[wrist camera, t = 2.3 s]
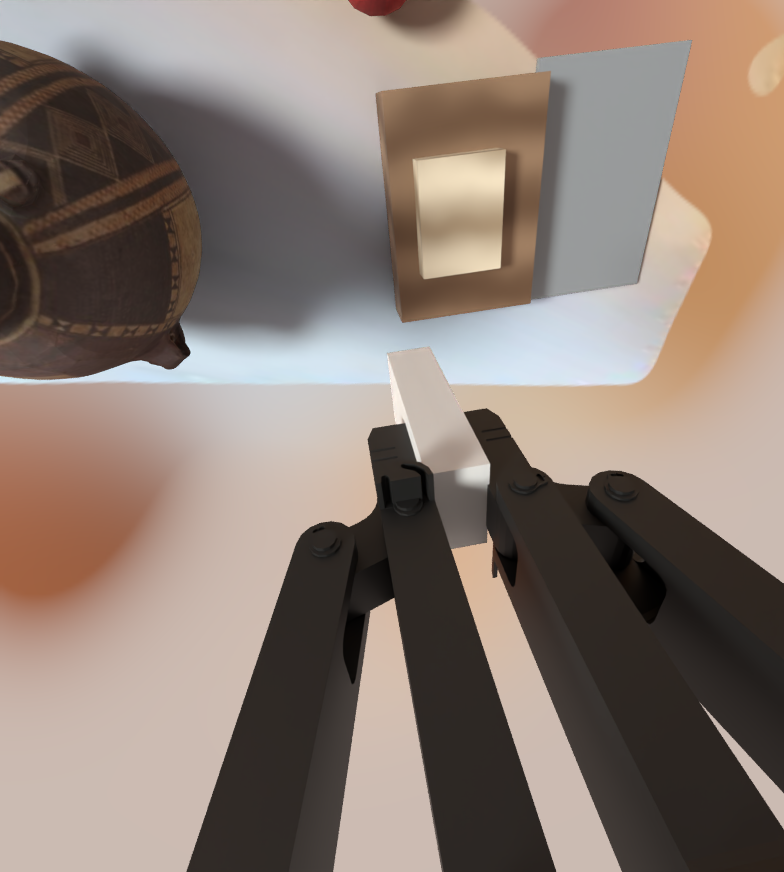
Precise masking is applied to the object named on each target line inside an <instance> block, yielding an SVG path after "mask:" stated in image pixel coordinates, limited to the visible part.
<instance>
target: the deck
mask: <svg viewBox="0 0 784 872" xmlns="http://www.w3.org/2000/svg"><path fill="white" fill-rule="evenodd" d="M550 77H551V71H545V72H537V73H529V74H520V75H512V76H504V77H495V78H487V79H479V80H470V81H462V82H454V83H445V84H437V85H429V86H420V87H412V88H404V89H395V90H387V91H381V92H378V93H376V103H377V114H378V124H379V135H380V145H381V156H382V166H383V177H384V187H385V198H386V208H387V219H388V229H389V239H390V250H391V260H392V271H393V281H394V292H395V302H396V310H397V312H398V314H399V316H400V319H401V321H402V323H404V322H411V321H417V320H424V319H431V318H437V317H444V316H450V315H457V314H463V313H470V312H477V311H483V310H490V309H496V308H503V307H509V306H516V305H523V304H529V303H531V291H532V280H533V269H534V257H535V246H536V235H537V224H538V212H539V201H540V190H541V178H542V167H543V156H544V145H545V133H546V122H547V111H548V99H549V88H550ZM493 148H501V149H506V159H505V181H504V203H503V225H502V247H501V268H498V269H492V270H485V271H478V272H471V273H464V274H458V275H451V276H444V277H437V278H430V279H423V277H422V276H421V275H420V273H419V256H418V239H417V223H416V206H415V190H414V173H413V159H416V158H424V157H431V156H439V155H447V154H454V153H462V152H470V151H477V150H485V149H493Z"/></svg>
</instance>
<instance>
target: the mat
mask: <svg viewBox="0 0 784 872" xmlns="http://www.w3.org/2000/svg"><path fill="white" fill-rule="evenodd" d="M691 43H692V40H687V41H679V42H670V43H662V44H653V45H645V46H637V47H628V48H619V49H611V50H602V51H594V52H586V53H578V54H570V55H569V54H568V55H560V56H552V57H544V58H538V59H537V66H536V73H537V72H545V71H551V77H550V88H549V99H548V111H547V122H546V133H545V145H544V156H543V167H542V178H541V190H540V201H539V212H538V224H537V235H536V246H535V257H534V269H533V280H532V291H531V300H532V299H539V298H546V297H552V296H559V295H565V294H572V293H579V292H585V291H592V290H598V289H605V288H612V287H618V286H625V285H631V284H637V280H638V276H639V272H640V267H641V263H642V258H643V254H644V250H645V245H646V241H647V236H648V232H649V228H650V223H651V219H652V215H653V210H654V206H655V201H656V197H657V193H658V188H659V184H660V179H661V175H662V171H663V166H664V161H665V157H666V153H667V149H668V144H669V140H670V135H671V131H672V127H673V122H674V117H675V114H676V109H677V105H678V100H679V96H680V92H681V87H682V83H683V78H684V74H685V69H686V65H687V61H688V56H689V52H690V47H691Z"/></svg>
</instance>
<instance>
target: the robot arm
mask: <svg viewBox="0 0 784 872" xmlns="http://www.w3.org/2000/svg"><path fill="white" fill-rule="evenodd" d="M387 356H388V365H389V374H390V382H391V390H392V400H393V408H394V417H395V421H396V425H390V426H384V427H378V428H373V429H372V431H371V433H370V436H369V438H368V445H369V450H370V456H371V463H372V469H373V475H374V481H375V486H376V492H377V504H376V507H375V509H374V510H373V512H372V513H371V514H370V515H369V516H368V517H367V518H366V519H364V520H362V521H361V522H359V523H357V524H355V525H353V526H350V527H347V526H345V525H344V524H342V523H339V522H332V521H330V522H323V523H319V524H317V525H314V526H312V527H310V528H309V529H308V530H306V531H305V532H304V533H303V534H302V535H301V536H300V538H299V540H298V542H297V543H296V546H295V549H294V552H293V555H292V558H291V561H290V564H289V567H288V570H287V573H286V576H285V579H284V582H283V585H282V588H281V591H280V594H279V597H278V600H277V603H276V606H275V609H274V612H273V615H272V618H271V621H270V624H269V627H268V630H267V633H266V636H265V639H264V642H263V645H262V648H261V651H260V654H259V657H258V660H257V663H256V666H255V669H254V671H253V674H252V677H251V681H250V684H249V687H248V689H247V692H246V696H245V698H244V701H243V704H242V707H241V711H240V713H239V716H238V719H237V722H236V725H235V728H234V731H233V734H232V738H231V740H230V743H229V746H228V749H227V752H226V755H225V758H224V761H223V764H222V767H221V770H220V773H219V776H218V779H217V782H216V785H215V788H214V791H213V794H212V797H211V800H210V803H209V806H208V809H207V812H206V815H205V818H204V821H203V824H202V827H201V830H200V833H199V836H198V839H197V842H196V845H195V848H194V851H193V854H192V857H191V860H190V863H189V866H188V869H187V872H333V868H334V860H335V854H336V847H337V840H338V834H339V827H340V819H341V813H342V805H343V798H344V791H345V784H346V778H347V770H348V763H349V756H350V750H351V743H352V736H353V729H354V721H355V715H356V707H357V701H358V694H359V687H360V679H361V673H362V666H363V659H364V652H365V644H366V638H367V631H368V624H369V617H370V610H372V609H374V608H376V607H378V606H379V605H382V604H383V603H385V602H387V601H389V600H390V599H393V598H395V604H396V610H397V616H398V621H399V627H400V632H401V638H402V644H403V650H404V656H405V661H406V667H407V673H408V679H409V684H410V689H411V696H412V702H413V707H414V713H415V718H416V725H417V730H418V735H419V742H420V747H421V753H422V759H423V764H424V771H425V776H426V782H427V787H428V793H429V799H430V805H431V811H432V817H433V822H434V828H435V834H436V839H437V845H438V850H439V856H440V862H441V868H442V872H556V869H555V866H554V863H553V860H552V857H551V854H550V851H549V848H548V845H547V842H546V839H545V836H544V833H543V829H542V826H541V823H540V820H539V817H538V814H537V811H536V808H535V805H534V802H533V799H532V796H531V793H530V790H529V787H528V783H527V780H526V777H525V774H524V771H523V768H522V765H521V762H520V759H519V756H518V753H517V750H516V747H515V744H514V741H513V738H512V734H511V731H510V729H509V726H508V722H507V719H506V716H505V713H504V710H503V707H502V704H501V701H500V698H499V695H498V692H497V689H496V686H495V682H494V679H493V677H492V674H491V670H490V667H489V664H488V661H487V658H486V655H485V652H484V649H483V646H482V643H481V640H480V637H479V633H478V631H477V627H476V624H475V622H474V618H473V615H472V612H471V609H470V606H469V603H468V600H467V597H466V594H465V591H464V588H463V585H462V581H461V578H460V575H459V572H458V569H457V566H456V563H455V560H454V557H453V554H452V551H451V549H454V548H459V547H465V546H470V545H476V544H481V543H487V529H488V531H489V534H490V536H491V538H492V540H493V557H492V575H493V578H495V577H497V570H499V573H500V575H501V578H502V580H503V582H504V585H505V588H506V590H507V592H508V595H509V597H510V599H511V602H512V605H513V607H514V609H515V612H516V614H517V617H518V619H519V622H520V624H521V627H522V629H523V631H524V634H525V636H526V639H527V641H528V643H529V646H530V648H531V651H532V653H533V656H534V658H535V660H536V663H537V666H538V668H539V670H540V673H541V675H542V678H543V680H544V683H545V685H546V687H547V690H548V692H549V695H550V697H551V700H552V702H553V705H554V707H555V709H556V712H557V714H558V717H559V719H560V721H561V724H562V726H563V729H564V731H565V734H566V736H567V739H568V741H569V744H570V746H571V748H572V751H573V753H574V756H575V758H576V761H577V763H578V766H579V768H580V770H581V773H582V775H583V778H584V780H585V782H586V785H587V788H588V790H589V792H590V795H591V797H592V800H593V802H594V805H595V807H596V809H597V812H598V814H599V817H600V819H601V821H602V824H603V826H604V829H605V831H606V834H607V836H608V839H609V841H610V844H611V846H612V848H613V851H614V853H615V856H616V858H617V860H618V863H619V866H620V868H621V870H622V872H784V829H783V828H782V826H781V825H780V823H779V822H778V820H777V819H776V817H775V816H774V814H773V813H772V811H771V810H770V808H769V806H768V805H767V804H766V802H765V801H764V799H763V798H762V796H761V794H760V793H759V791H758V790H757V788H756V787H755V785H754V784H753V782H752V781H751V779H750V778H749V776H748V775H747V773H746V772H745V770H744V769H743V767H742V766H741V764H740V763H739V761H738V760H737V758H736V757H735V755H734V754H733V752H732V751H731V749H730V748H729V747H728V745H727V743H726V742H725V740H724V739H723V737H722V736H721V734H720V733H719V731H718V730H717V728H716V727H715V725H714V724H713V722H712V721H711V719H710V718H709V716H708V715H707V713H706V711H705V710H704V709H703V707H702V705H703V706H704V707H705V708H706V710H707V711H708V712H709V713H710V714H711V715H712V716H713V717H714V718H715V719H716V720H717V721H718V723H720V725H721V726H722V727H723V728H724V729H725V730H726V731H727V732H728V733H729V734H730V735H731V736H732V738H733V739H734V740H735V741H736V742H737V743H738V744H739V745H740V746H741V747H742V748H743V749H744V751H745V752H746V753H747V754H748V755H749V756H750V757H751V758H752V759H753V760H754V761H755V763H756V764H757V765H758V766H759V767H760V768H761V769H762V770H763V771H764V772H765V773H766V774H767V776H769V778H770V779H771V780H772V781H773V782H774V783H775V784H776V785H777V786H778V787H779V788H780V790H782V792H783V793H784V583H782V582H781V581H779V580H778V579H776V578H775V577H774V576H773V575H771V574H770V573H768V572H767V571H766V570H765V569H763V568H762V567H760V566H759V565H758V564H756V563H755V562H754V561H752V560H751V559H750V558H748V557H747V556H745V555H744V554H743V553H741V552H740V551H739V550H737V549H736V548H734V547H733V546H732V545H731V544H729V543H728V542H726V541H725V540H724V539H722V538H721V537H720V536H718V535H717V534H716V533H714V532H713V531H712V530H710V529H709V528H707V527H706V526H705V525H703V524H702V523H701V522H699V521H698V520H697V519H695V518H694V517H692V516H691V515H690V514H688V513H687V512H686V511H684V510H683V509H682V508H680V507H678V506H677V505H676V504H675V503H673V502H672V501H671V500H669V499H668V498H667V497H665V496H664V495H663V494H661V493H660V492H658V491H657V490H656V489H654V488H653V487H652V486H650V485H649V484H648V483H646V482H645V481H643V480H642V479H640V478H638V477H636V476H634V475H633V474H629V473H626V472H622V471H605V472H600V473H598V474H596V475H595V476H593V477H592V479H591V481H590V483H589V486H582V485H566V484H559V483H555V482H553V481H552V479H551V478H550V477H549V476H548V475H547V474H546V473H544V472H542V471H540V470H538V469H536V468H532V467H531V466H530V464H529V463H528V461H527V460H526V458H525V457H524V455H523V454H522V452H521V450H520V449H519V447H518V445H517V444H516V442H515V441H514V439H513V438H511V435H510V433H509V431H508V430H507V429H506V427H505V425H504V423H503V422H502V420H501V419H500V417H499V416H498V415H496V414H495V413H493V412H491V411H490V410H488V409H487V408H486V409H480V410H474V411H468V412H463V410H462V409H461V407H460V405H459V403H458V401H457V399H456V397H455V395H454V393H453V391H452V389H451V387H450V385H449V383H448V381H447V380H446V378H445V376H444V374H443V372H442V370H441V368H440V366H439V364H438V362H437V360H436V358H435V356H434V354H433V353H432V351H431V349H430V347H423V348H417V349H410V350H404V351H398V352H391V353H387ZM700 703H701V704H702V705H701V704H700Z"/></svg>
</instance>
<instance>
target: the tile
mask: <svg viewBox="0 0 784 872" xmlns="http://www.w3.org/2000/svg"><path fill="white" fill-rule="evenodd" d="M505 159H506V149H501V148H493V149H485V150H477V151H470V152H462V153H454V154H447V155H439V156H431V157H424V158H416V159H413V173H414V190H415V206H416V223H417V239H418V256H419V273H420V275H421V276H422V277H423V279H430V278H437V277H444V276H451V275H458V274H464V273H471V272H478V271H485V270H492V269H498V268H501V247H502V225H503V203H504V181H505Z"/></svg>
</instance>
